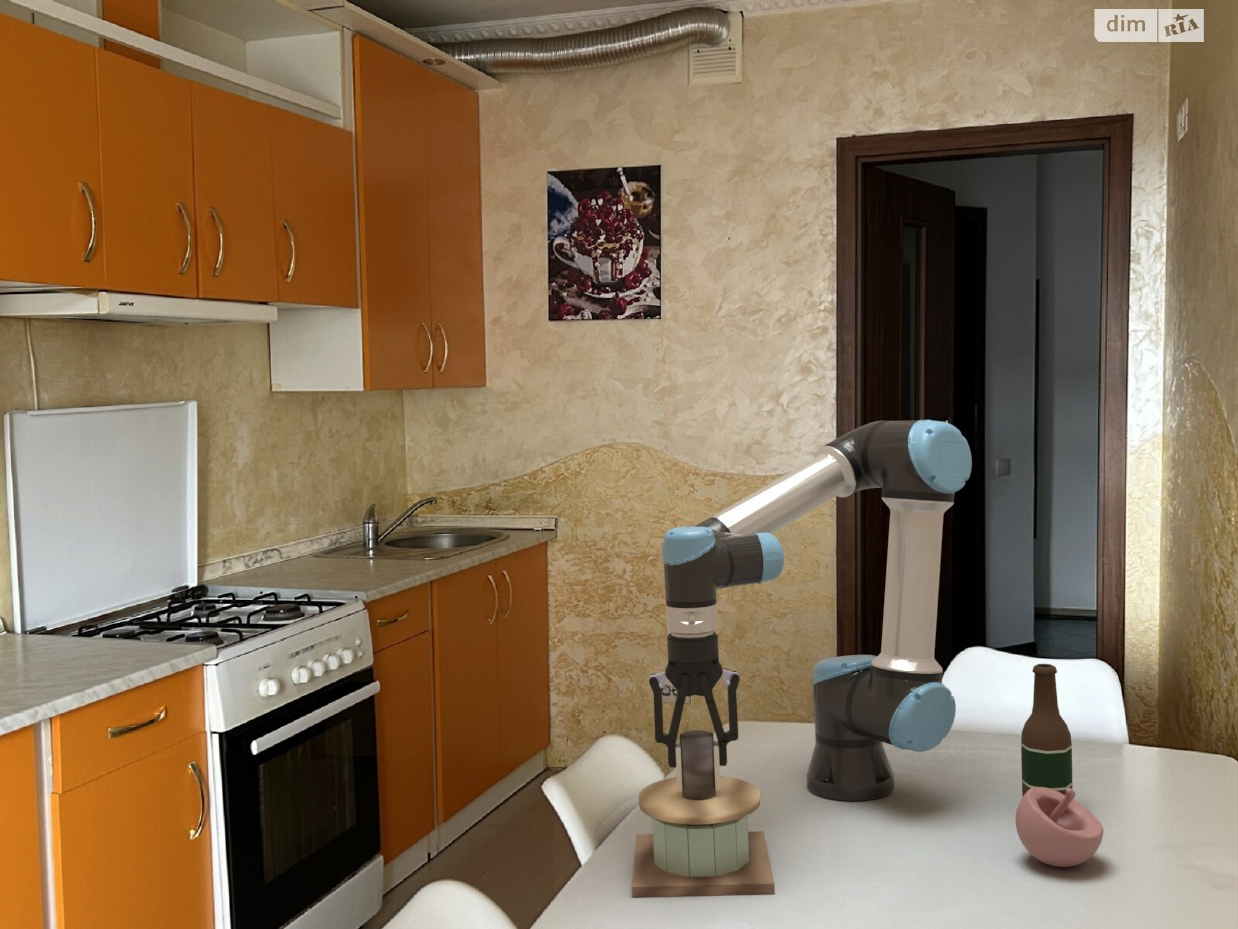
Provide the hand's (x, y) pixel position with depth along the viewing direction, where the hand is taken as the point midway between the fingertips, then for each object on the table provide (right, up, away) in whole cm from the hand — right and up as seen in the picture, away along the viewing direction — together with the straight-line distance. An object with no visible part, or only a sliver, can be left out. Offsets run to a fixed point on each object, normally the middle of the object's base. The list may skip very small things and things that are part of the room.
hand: (698, 787), depth 179 cm
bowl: (0, -11, +1) cm, 11 cm away
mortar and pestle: (+52, -10, -4) cm, 54 cm away
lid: (0, -2, 0) cm, 2 cm away
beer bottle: (+58, -9, +18) cm, 62 cm away
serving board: (0, -12, +1) cm, 12 cm away
